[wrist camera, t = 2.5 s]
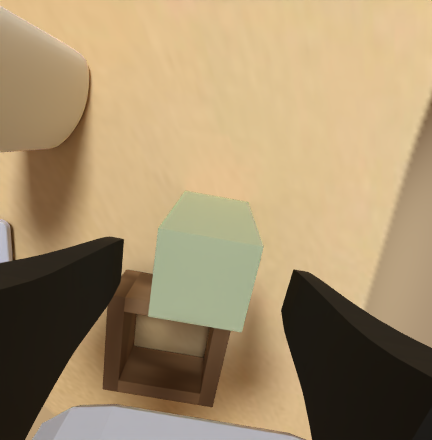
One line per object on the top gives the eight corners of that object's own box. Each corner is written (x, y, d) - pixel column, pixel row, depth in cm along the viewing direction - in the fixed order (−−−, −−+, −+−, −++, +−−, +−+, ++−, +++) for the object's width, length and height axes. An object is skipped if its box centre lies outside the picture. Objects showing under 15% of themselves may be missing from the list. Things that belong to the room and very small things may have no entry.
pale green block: (177, 248, 18) (148, 316, 11) (185, 190, 16) (158, 228, 10) (235, 258, 18) (241, 332, 11) (248, 202, 17) (263, 246, 10)
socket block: (119, 353, 21) (102, 389, 18) (126, 269, 18) (108, 294, 15) (214, 369, 21) (212, 407, 18) (232, 288, 18) (234, 316, 16)
